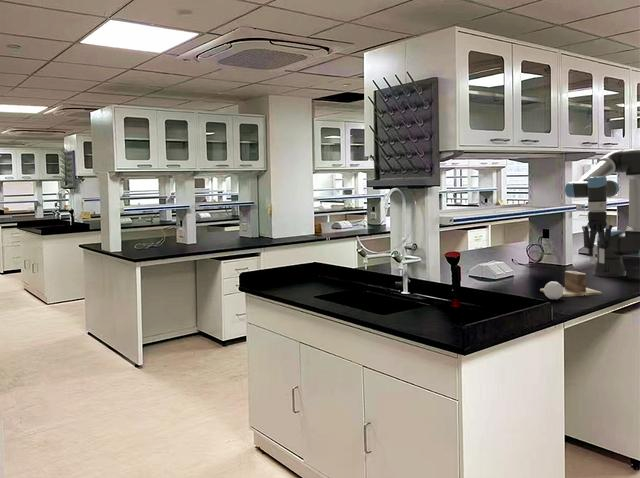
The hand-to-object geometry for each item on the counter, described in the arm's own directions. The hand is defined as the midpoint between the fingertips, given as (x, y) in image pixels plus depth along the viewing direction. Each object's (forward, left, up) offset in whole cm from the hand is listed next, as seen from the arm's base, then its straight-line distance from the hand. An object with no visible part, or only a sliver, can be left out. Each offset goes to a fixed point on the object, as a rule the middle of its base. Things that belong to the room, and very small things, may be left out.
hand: (597, 263), depth 255 cm
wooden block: (+11, 0, -12) cm, 16 cm away
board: (+13, 0, -13) cm, 18 cm away
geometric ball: (+27, +11, -13) cm, 32 cm away
